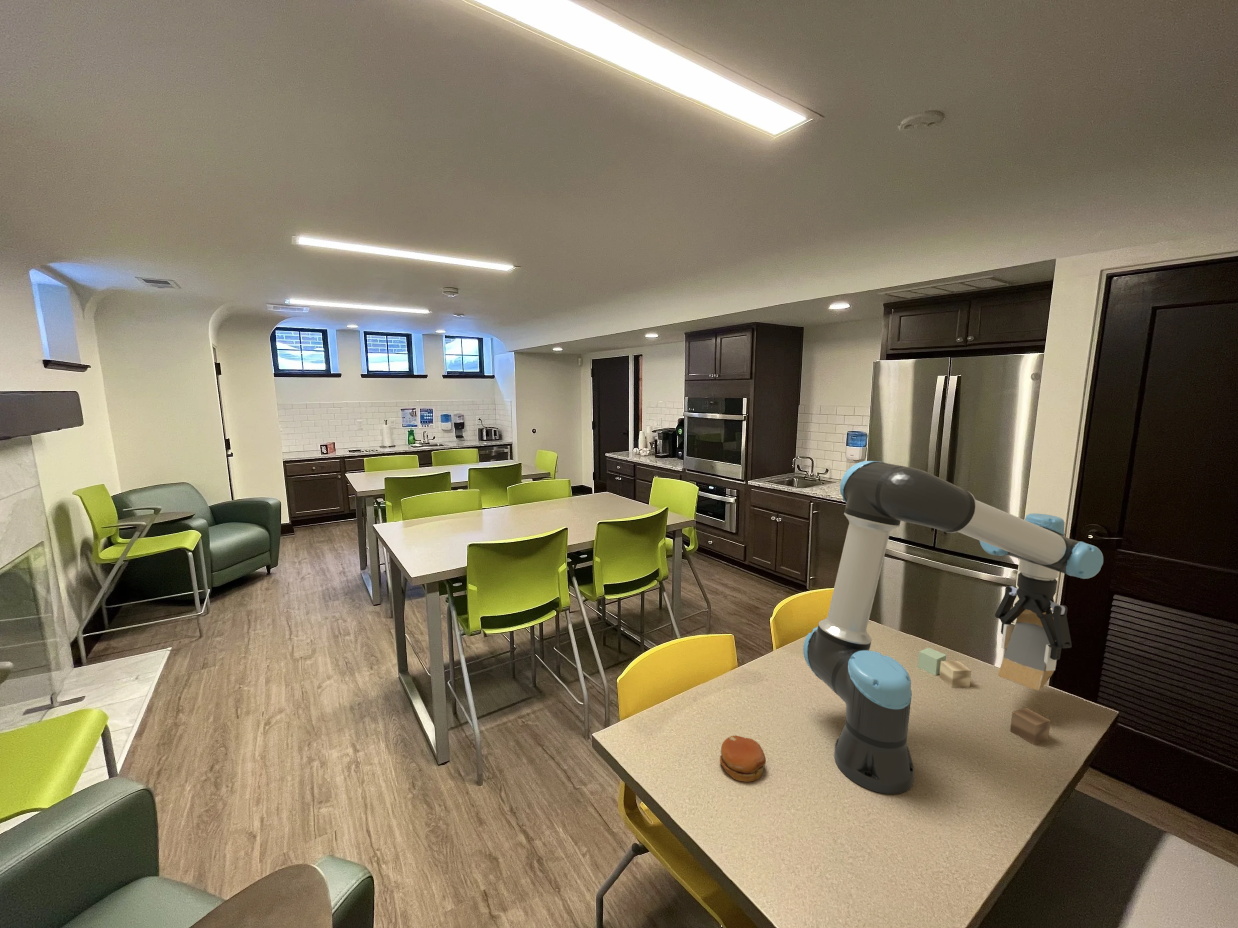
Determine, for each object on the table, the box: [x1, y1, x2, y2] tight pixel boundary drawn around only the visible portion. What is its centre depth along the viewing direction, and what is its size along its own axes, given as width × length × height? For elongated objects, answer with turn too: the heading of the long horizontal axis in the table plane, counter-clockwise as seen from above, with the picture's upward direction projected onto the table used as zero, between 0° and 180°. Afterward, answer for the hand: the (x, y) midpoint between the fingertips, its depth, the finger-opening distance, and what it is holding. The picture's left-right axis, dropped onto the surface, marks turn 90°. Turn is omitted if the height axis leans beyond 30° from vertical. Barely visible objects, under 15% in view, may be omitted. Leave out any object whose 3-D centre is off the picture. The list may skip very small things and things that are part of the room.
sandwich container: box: [997, 609, 1056, 692], centre depth 123 cm, size 9×15×15 cm, turn 127°
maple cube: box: [939, 660, 972, 689], centre depth 135 cm, size 5×5×5 cm
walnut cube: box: [1009, 707, 1051, 746], centre depth 114 cm, size 5×5×5 cm
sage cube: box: [917, 647, 947, 676], centre depth 142 cm, size 5×5×5 cm
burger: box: [719, 735, 767, 783], centre depth 104 cm, size 10×9×5 cm
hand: (1026, 658), depth 125 cm, fingers closed on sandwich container, 10 cm apart
